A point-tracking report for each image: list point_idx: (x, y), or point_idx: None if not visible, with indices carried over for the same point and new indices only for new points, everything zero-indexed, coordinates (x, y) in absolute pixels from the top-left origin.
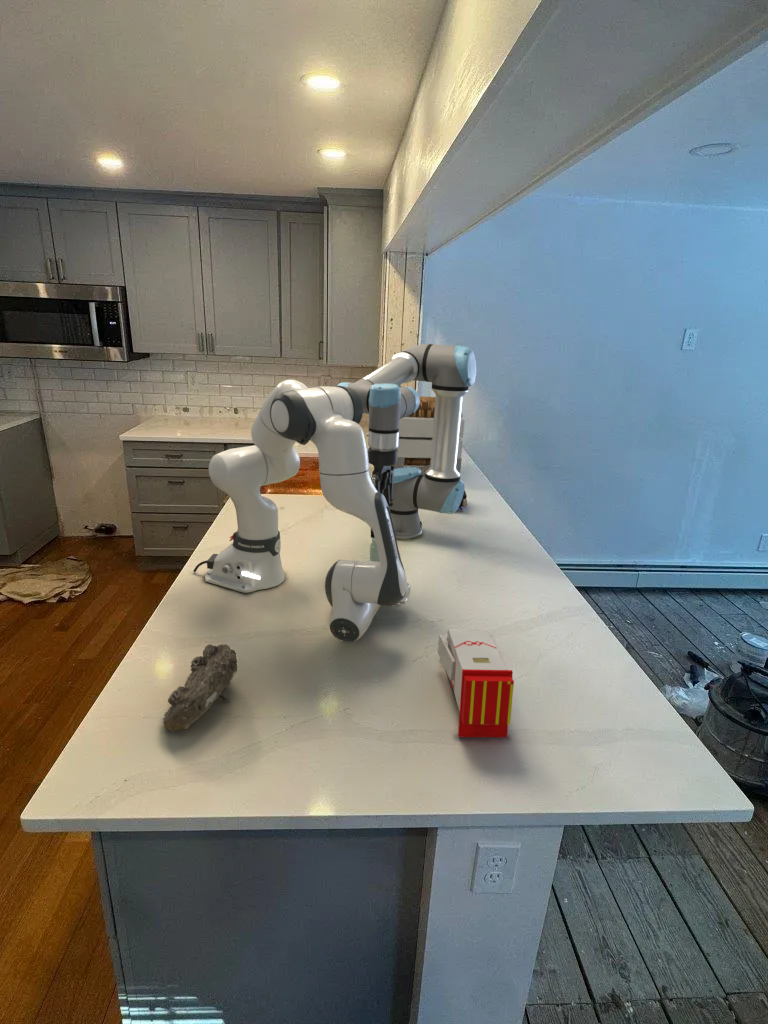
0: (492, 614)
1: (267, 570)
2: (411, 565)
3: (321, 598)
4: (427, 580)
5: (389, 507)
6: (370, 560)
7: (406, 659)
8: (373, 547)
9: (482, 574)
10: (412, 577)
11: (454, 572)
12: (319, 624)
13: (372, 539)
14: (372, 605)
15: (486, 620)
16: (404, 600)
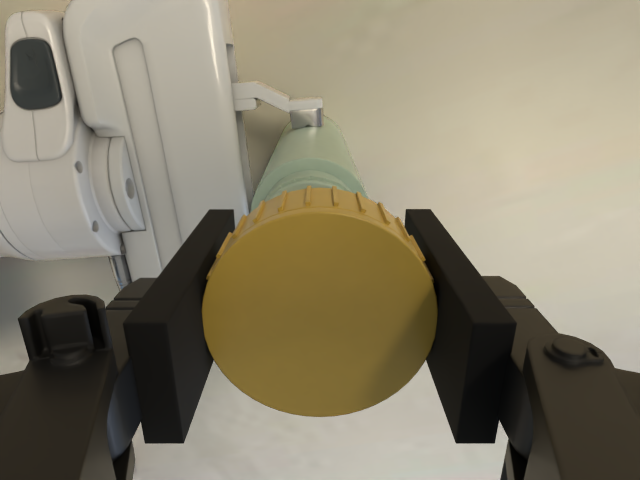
0: (349, 472)
1: None
2: (634, 188)
3: None
4: (511, 276)
5: (488, 442)
6: (274, 155)
7: (16, 339)
8: (253, 199)
9: None
10: (522, 221)
11: (599, 342)
12: (17, 11)
13: (278, 192)
14: (2, 256)
15: (311, 464)
16: None
